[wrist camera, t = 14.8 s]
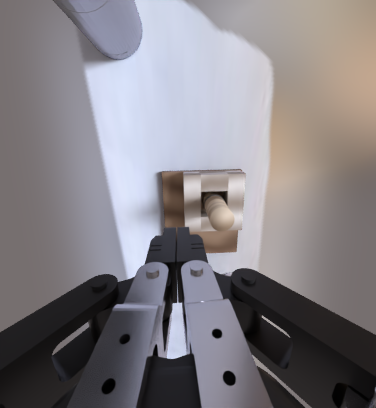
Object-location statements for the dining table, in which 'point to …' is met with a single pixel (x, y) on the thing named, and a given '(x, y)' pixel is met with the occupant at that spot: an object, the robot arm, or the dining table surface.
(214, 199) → the peg
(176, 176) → the socket board
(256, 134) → the dining table surface
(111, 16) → the robot arm
